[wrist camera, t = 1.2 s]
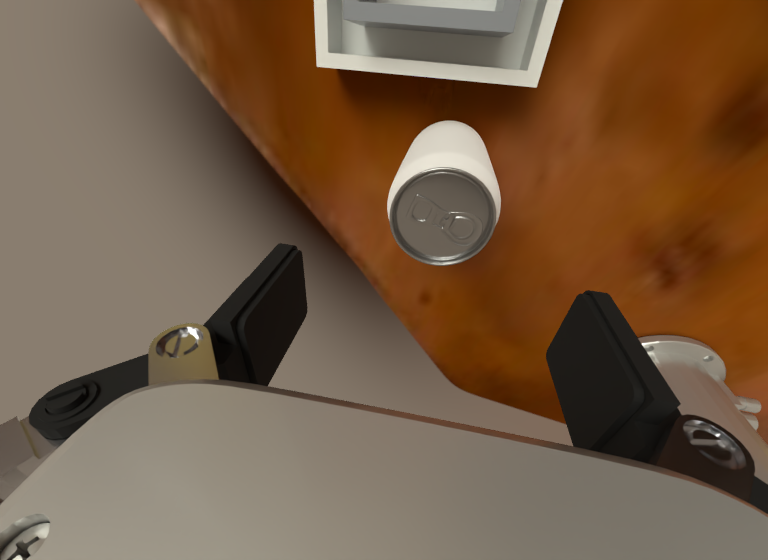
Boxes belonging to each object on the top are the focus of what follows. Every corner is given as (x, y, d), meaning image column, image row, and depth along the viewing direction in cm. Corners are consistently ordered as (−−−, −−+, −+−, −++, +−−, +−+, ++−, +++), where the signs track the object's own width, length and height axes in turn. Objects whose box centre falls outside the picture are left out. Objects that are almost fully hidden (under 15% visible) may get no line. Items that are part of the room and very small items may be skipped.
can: (461, 210, 29) (464, 288, 19) (396, 180, 28) (365, 244, 19) (502, 140, 25) (533, 192, 15) (428, 104, 25) (410, 135, 15)
